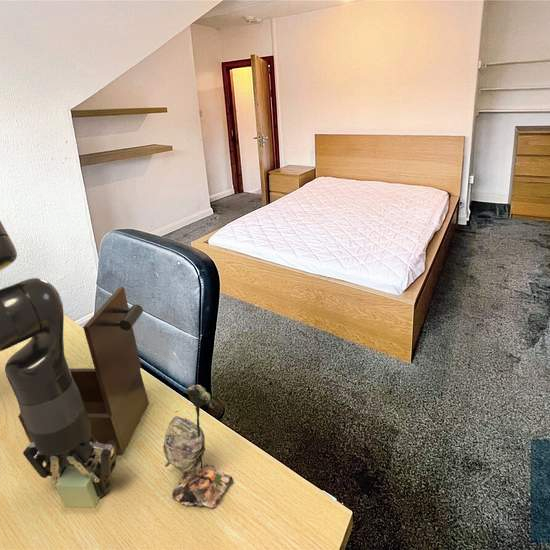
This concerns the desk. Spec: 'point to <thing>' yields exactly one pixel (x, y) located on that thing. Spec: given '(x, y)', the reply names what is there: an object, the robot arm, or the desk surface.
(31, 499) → the desk surface
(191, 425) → the plant with pod
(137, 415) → the chest
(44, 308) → the robot arm
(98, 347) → the lid
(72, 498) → the block
